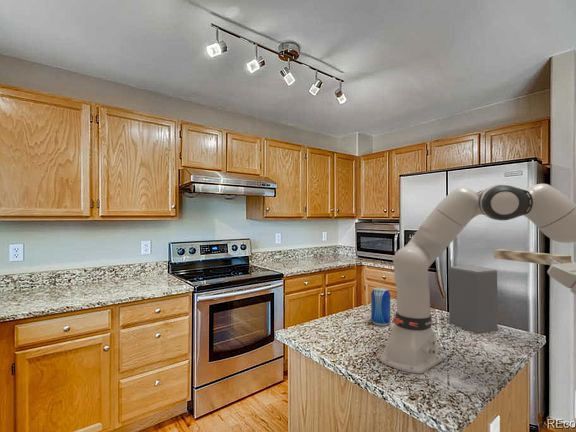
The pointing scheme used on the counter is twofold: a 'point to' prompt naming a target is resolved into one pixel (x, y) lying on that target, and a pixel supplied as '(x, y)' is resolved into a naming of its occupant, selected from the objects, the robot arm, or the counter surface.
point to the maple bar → (530, 256)
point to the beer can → (380, 306)
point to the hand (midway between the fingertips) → (553, 258)
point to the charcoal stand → (473, 298)
